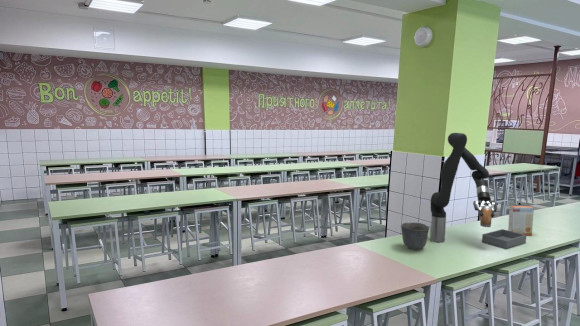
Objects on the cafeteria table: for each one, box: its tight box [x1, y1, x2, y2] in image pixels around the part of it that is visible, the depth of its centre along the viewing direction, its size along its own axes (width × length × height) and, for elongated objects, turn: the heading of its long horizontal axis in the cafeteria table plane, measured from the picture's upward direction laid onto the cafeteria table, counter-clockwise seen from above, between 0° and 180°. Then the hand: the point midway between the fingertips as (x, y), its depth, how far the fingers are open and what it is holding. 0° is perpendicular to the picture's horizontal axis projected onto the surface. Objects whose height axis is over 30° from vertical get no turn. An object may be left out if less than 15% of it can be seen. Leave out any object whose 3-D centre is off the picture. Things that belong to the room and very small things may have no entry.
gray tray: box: [481, 228, 527, 250], centre depth 241 cm, size 24×16×6 cm, turn 120°
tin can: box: [479, 205, 493, 228], centre depth 228 cm, size 6×6×13 cm
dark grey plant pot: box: [400, 222, 431, 250], centre depth 229 cm, size 18×18×15 cm
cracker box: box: [508, 205, 534, 237], centre depth 258 cm, size 14×6×21 cm, turn 84°
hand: (487, 216), depth 226 cm, fingers closed on tin can, 6 cm apart
